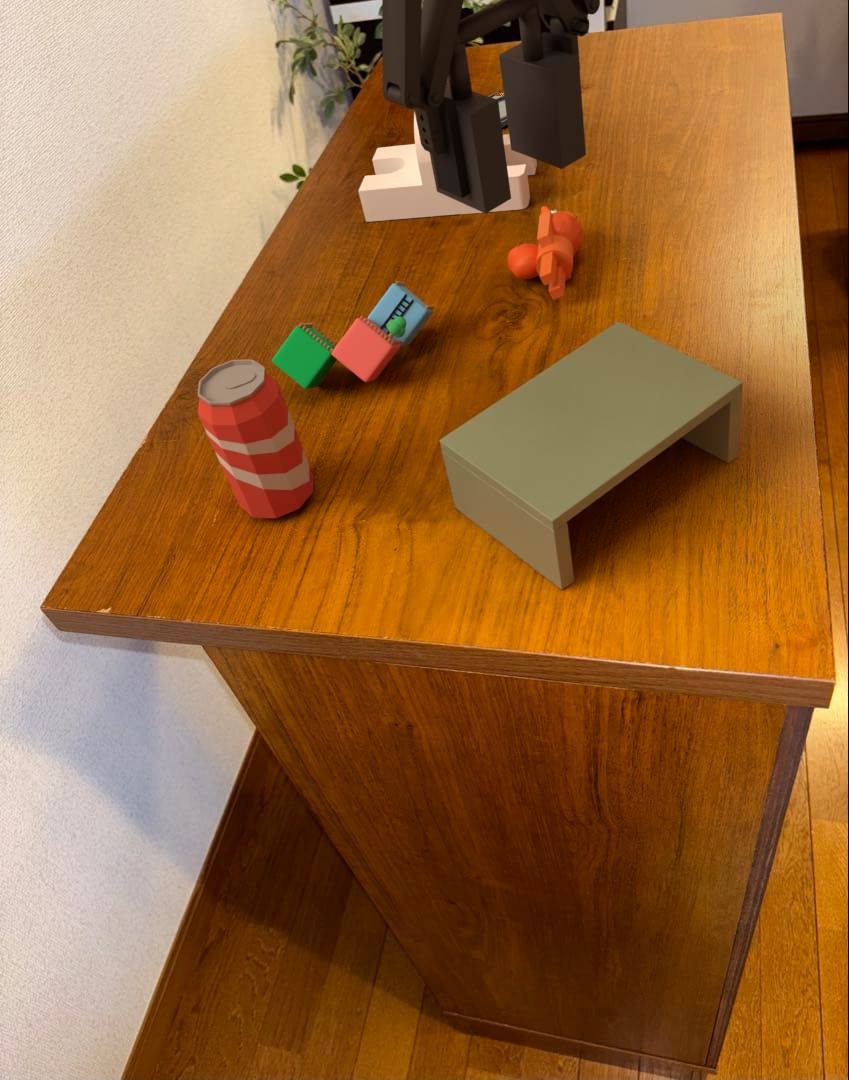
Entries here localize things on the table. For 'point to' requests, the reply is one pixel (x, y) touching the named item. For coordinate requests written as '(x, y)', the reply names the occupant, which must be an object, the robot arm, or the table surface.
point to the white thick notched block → (429, 184)
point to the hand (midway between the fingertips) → (509, 159)
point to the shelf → (583, 439)
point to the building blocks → (355, 340)
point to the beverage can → (254, 438)
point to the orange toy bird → (549, 251)
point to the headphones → (514, 104)
